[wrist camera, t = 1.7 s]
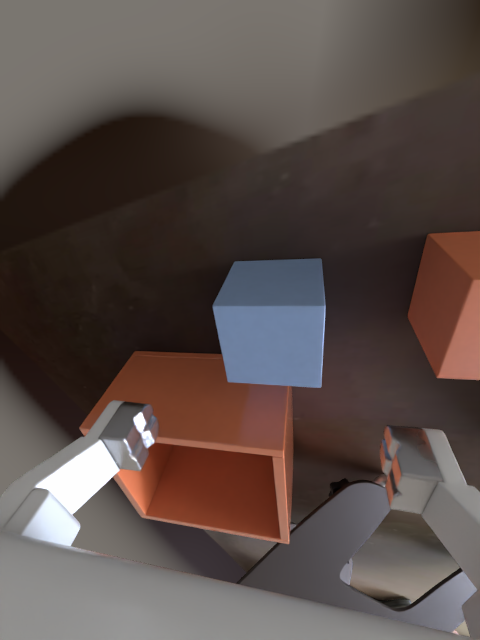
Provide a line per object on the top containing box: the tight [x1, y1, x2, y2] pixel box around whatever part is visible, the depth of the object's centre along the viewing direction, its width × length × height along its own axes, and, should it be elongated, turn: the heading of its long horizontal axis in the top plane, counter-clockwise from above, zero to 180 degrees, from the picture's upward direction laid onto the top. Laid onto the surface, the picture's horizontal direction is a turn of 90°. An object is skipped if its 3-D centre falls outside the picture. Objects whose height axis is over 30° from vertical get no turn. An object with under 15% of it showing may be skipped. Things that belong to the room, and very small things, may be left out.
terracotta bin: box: [79, 351, 294, 544], centre depth 20 cm, size 11×11×6 cm
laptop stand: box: [236, 474, 477, 633], centre depth 29 cm, size 23×23×9 cm
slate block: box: [212, 258, 326, 388], centre depth 14 cm, size 4×4×4 cm
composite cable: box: [379, 599, 411, 608], centre depth 41 cm, size 10×5×2 cm, turn 126°
